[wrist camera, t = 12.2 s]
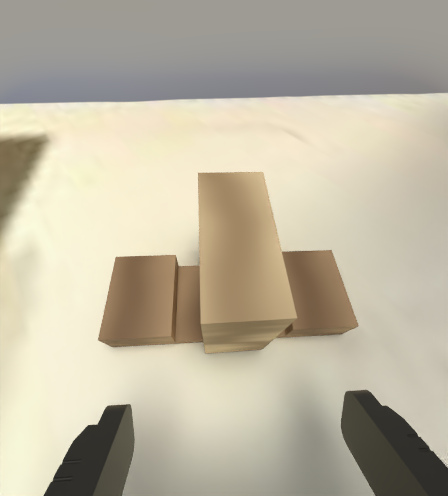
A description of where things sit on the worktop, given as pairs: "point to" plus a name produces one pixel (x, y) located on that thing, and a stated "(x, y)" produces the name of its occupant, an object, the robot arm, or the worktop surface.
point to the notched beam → (188, 300)
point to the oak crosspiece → (240, 264)
